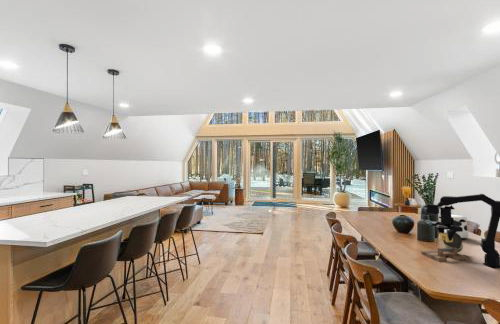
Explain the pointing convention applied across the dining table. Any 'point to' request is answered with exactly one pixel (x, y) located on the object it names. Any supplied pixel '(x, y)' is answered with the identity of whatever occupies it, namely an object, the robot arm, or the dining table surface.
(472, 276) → the dining table surface
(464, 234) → the milk container
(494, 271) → the dining table surface
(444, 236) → the bight saddle
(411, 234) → the dining table surface
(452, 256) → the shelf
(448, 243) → the coffee can
